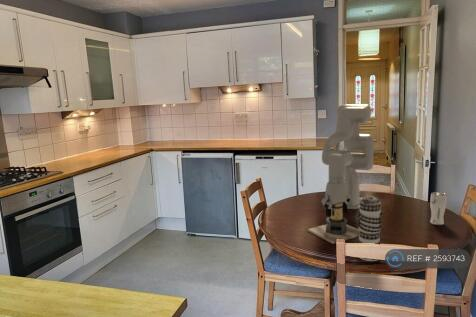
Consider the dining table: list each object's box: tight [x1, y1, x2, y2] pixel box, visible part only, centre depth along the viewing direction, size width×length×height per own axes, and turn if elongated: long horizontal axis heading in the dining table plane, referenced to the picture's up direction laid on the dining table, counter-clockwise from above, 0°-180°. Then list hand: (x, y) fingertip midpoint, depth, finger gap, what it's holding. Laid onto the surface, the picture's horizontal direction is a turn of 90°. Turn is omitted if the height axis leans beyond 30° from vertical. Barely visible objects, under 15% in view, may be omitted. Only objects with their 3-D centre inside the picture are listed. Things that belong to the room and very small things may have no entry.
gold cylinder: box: [330, 203, 344, 230], centre depth 172 cm, size 6×6×14 cm
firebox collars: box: [325, 216, 348, 235], centre depth 173 cm, size 9×9×6 cm
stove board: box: [307, 224, 360, 245], centre depth 173 cm, size 20×18×1 cm
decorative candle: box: [357, 195, 383, 262], centre depth 146 cm, size 9×9×25 cm
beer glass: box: [429, 191, 447, 226], centre depth 179 cm, size 7×7×15 cm
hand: (336, 214), depth 172 cm, fingers open, 9 cm apart
